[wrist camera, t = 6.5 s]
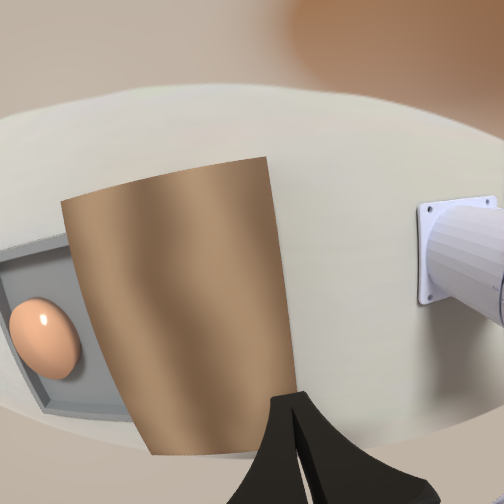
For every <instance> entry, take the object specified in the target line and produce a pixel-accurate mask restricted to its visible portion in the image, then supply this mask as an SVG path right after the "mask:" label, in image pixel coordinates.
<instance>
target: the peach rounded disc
mask: <svg viewBox="0 0 504 504" xmlns="http://www.w3.org/2000/svg"><path fill="white" fill-rule="evenodd" d="M9 327H10V334H11V338H12V341H13V344H14V346H15V348H16V350H17V352H18V354H19V355H20V357H21V358H22V359H23V361H24V362H25V363H26V364H27V365H28V366H29V367H30V368H31V369H32V370H34V371H35V372H36V373H38V374H39V375H41V376H43V377H46V378H48V379H54V380H58V379H63V378H65V377H66V376H67V375H69V373H70V372H71V371H72V370H73V368H74V367H75V366H76V365H77V363H78V362H79V360H80V357H81V342H80V338H79V335H78V332H77V330H76V328H75V326H74V324H73V322H72V321H71V319H70V318H69V317H68V315H67V314H66V313H65V312H64V311H63V310H62V309H61V308H60V307H59V306H58V305H56V304H55V303H54V302H52V301H50V300H48V299H46V298H42V297H33V298H30V299H28V300H27V301H25V302H23V303H22V304H20V305H19V306H17V307H16V308H15V309H14V310H13V312H12V314H11V317H10V323H9Z"/></svg>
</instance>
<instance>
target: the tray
mask: <svg viewBox="0 0 504 504" xmlns="http://www.w3.org/2000/svg"><path fill="white" fill-rule="evenodd" d="M33 297H42V298H46V299H48V300H50V301H52V302H54V303H55V304H56V305H58V306H59V307H60V308H61V309H62V310H63V311H64V312H65V313H66V314H67V315H68V317H69V318H70V319H71V321H72V322H73V324H74V326H75V328H76V330H77V332H78V335H79V338H80V342H81V357H80V360H79V362H78V363H77V365H76V366H75V367H74V368H73V370H72V371H71V372H70V373H69V375H67V376H66V377H65V378H63V379H58V380H54V379H48V378H46V377H43V376H41V375H39V374H38V373H36V372H35V371H34V370H32V369H31V368H30V367H29V366H28V365H27V364H26V363H25V362H24V361H23V359H22V358H21V357H20V355H19V354H18V352H17V350H16V348H15V346H14V344H13V341H12V338H11V334H10V327H9V323H10V317H11V314H12V312H13V310H14V309H15V308H16V307H17V306H19V305H20V304H22V303H23V302H25V301H27V300H28V299H30V298H33ZM0 325H1V327H2V330H3V333H4V335H5V338H6V340H7V343H8V345H9V347H10V350H11V352H12V354H13V356H14V359H15V361H16V363H17V365H18V367H19V369H20V371H21V373H22V375H23V377H24V379H25V381H26V383H27V385H28V387H29V389H30V391H31V393H32V395H33V396H34V398H35V400H36V402H37V403H38V405H39V407H40V409H41V410H42V412H43V413H45V414H52V415H59V416H66V417H74V418H84V419H95V420H109V421H130V422H133V420H132V418H131V416H130V414H129V412H128V410H127V408H126V406H125V404H124V402H123V400H122V398H121V396H120V394H119V391H118V389H117V387H116V385H115V383H114V380H113V378H112V376H111V373H110V371H109V369H108V366H107V364H106V361H105V359H104V357H103V354H102V351H101V349H100V346H99V344H98V341H97V338H96V336H95V333H94V330H93V327H92V324H91V321H90V318H89V315H88V312H87V309H86V306H85V303H84V300H83V296H82V293H81V290H80V286H79V283H78V279H77V275H76V272H75V268H74V264H73V260H72V256H71V251H70V247H69V243H68V238H67V233H63V234H59V235H56V236H52V237H48V238H44V239H40V240H37V241H33V242H29V243H26V244H22V245H19V246H15V247H12V248H8V249H5V250H1V251H0Z"/></svg>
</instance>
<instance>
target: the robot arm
mask: <svg viewBox="0 0 504 504" xmlns="http://www.w3.org/2000/svg"><path fill="white" fill-rule="evenodd" d="M486 201H487V202H486ZM428 207H429V208H430V211H429V212H428V211H427V209H428ZM417 213H418V231H419V297H418V300H419V302H420V303H421V304H423V305H425V304H429V303H432V302H435V301H439V300H442V299H445V298H448V297H451V296H452V297H454V298H456V299H457V300H459V301H461V302H462V303H464V304H466V305H467V306H469V307H471V308H472V309H474V310H476V311H477V312H479V313H481V314H482V315H484V316H486V317H487V318H489V319H490V320H492V321H494V322H495V323H497V324H498V325H500V326H501V327H503V328H504V209H503V208H497V199H496V197H495V196H482V197H473V198H463V199H454V200H446V201H437V202H429V203H421V204H420V205H419V206H418V209H417ZM429 295H430V297H429V299H428V296H429ZM296 449H297V452H298V455H299V459H300V461H301V465H302V468H303V471H304V474H305V477H306V480H307V483H308V486H309V489H310V492H311V496H312V500H313V504H440V502H441V500H440V498H439V496H438V494H437V492H436V491H435V490H434V488H433V487H432V486H431V485H430V484H429V483H428V481H427V480H424V479H421V478H418V477H415V476H412V475H409V474H407V473H404V472H402V471H399V470H397V469H395V468H392V467H390V466H388V465H386V464H384V463H383V462H381V461H379V460H377V459H375V458H373V457H372V456H370V455H368V454H367V453H365V452H364V451H362V450H361V449H360V448H358V447H357V446H355V445H354V444H353V443H351V442H350V441H349V440H348V439H347V438H345V437H344V436H343V435H342V434H341V433H340V432H339V431H338V430H336V429H335V428H334V427H333V426H332V425H331V424H330V423H329V421H328V420H327V419H326V418H325V417H324V416H323V415H322V414H321V413H320V411H319V410H318V409H317V408H316V406H315V405H314V404H313V402H312V401H311V400H310V398H309V397H308V395H307V393H306V392H304V391H301V392H296V393H291V394H285V395H279V396H273V397H272V398H271V399H270V411H269V417H268V422H267V426H266V429H265V433H264V436H263V439H262V442H261V445H260V447H259V450H258V452H257V455H256V457H255V459H254V461H253V463H252V465H251V468H250V469H249V471H248V473H247V474H246V476H245V478H244V480H243V481H242V483H241V484H240V486H239V488H238V489H237V490H236V492H235V493H234V494H233V496H232V497H231V498H230V500H229V501H228V502H227V504H308V502H307V497H306V493H305V489H304V485H303V481H302V477H301V473H300V469H299V464H298V460H297V452H296ZM490 504H504V494H503V495H502V496H500V497H499V498H497V499H496V500H495V501H493V502H492V503H490Z"/></svg>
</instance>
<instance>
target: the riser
mask: <svg viewBox="0 0 504 504" xmlns="http://www.w3.org/2000/svg"><path fill="white" fill-rule="evenodd" d="M61 207H62V212H63V218H64V223H65V228H66V233H67V238H68V243H69V247H70V251H71V256H72V260H73V264H74V268H75V272H76V275H77V279H78V283H79V286H80V290H81V293H82V296H83V300H84V303H85V306H86V309H87V312H88V315H89V318H90V321H91V324H92V327H93V330H94V333H95V336H96V338H97V341H98V344H99V346H100V349H101V351H102V354H103V357H104V359H105V361H106V364H107V366H108V369H109V371H110V373H111V376H112V378H113V380H114V383H115V385H116V387H117V389H118V391H119V394H120V396H121V398H122V400H123V402H124V404H125V406H126V408H127V410H128V412H129V414H130V416H131V418H132V420H133V422H134V424H135V426H136V428H137V430H138V431H139V433H140V435H141V437H142V439H143V440H144V442H145V444H146V446H147V447H148V449H149V451H150V453H151V454H152V455H212V454H227V453H239V452H248V451H257V450H259V447H260V445H261V442H262V439H263V436H264V433H265V429H266V426H267V422H268V417H269V411H270V399H271V398H272V397H273V396H279V395H285V394H291V393H296V392H297V386H296V377H295V368H294V359H293V350H292V341H291V332H290V324H289V316H288V308H287V300H286V292H285V284H284V276H283V269H282V261H281V254H280V247H279V240H278V232H277V225H276V219H275V212H274V205H273V198H272V192H271V185H270V178H269V172H268V166H267V159H266V157H259V158H252V159H245V160H239V161H233V162H226V163H221V164H215V165H209V166H204V167H198V168H193V169H188V170H183V171H178V172H173V173H168V174H164V175H159V176H155V177H150V178H146V179H142V180H137V181H133V182H129V183H125V184H121V185H117V186H113V187H110V188H106V189H102V190H98V191H95V192H91V193H88V194H84V195H81V196H77V197H74V198H71V199H67V200H64V201H61Z"/></svg>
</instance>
